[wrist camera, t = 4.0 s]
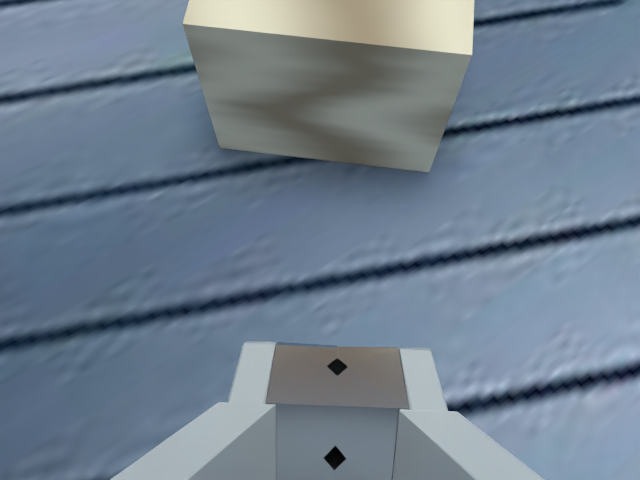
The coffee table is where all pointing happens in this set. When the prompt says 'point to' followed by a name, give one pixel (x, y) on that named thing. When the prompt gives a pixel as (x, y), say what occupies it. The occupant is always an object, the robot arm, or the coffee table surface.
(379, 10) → the wooden block
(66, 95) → the coffee table surface
